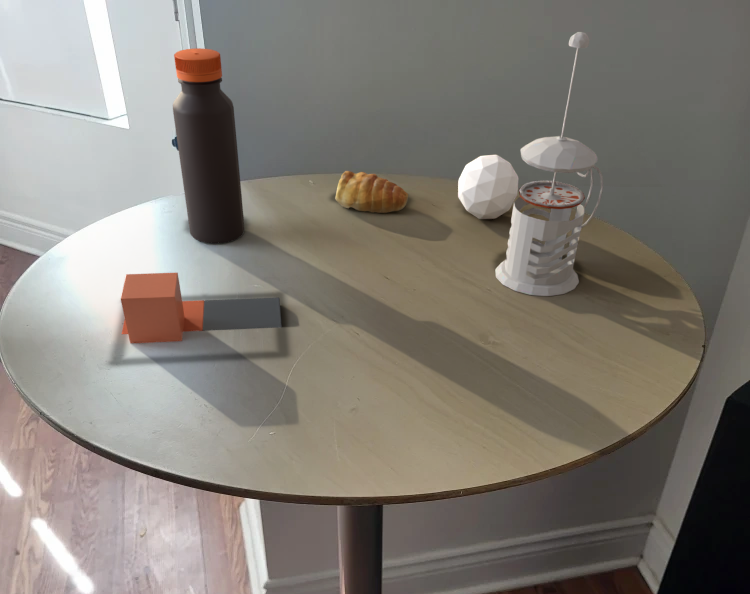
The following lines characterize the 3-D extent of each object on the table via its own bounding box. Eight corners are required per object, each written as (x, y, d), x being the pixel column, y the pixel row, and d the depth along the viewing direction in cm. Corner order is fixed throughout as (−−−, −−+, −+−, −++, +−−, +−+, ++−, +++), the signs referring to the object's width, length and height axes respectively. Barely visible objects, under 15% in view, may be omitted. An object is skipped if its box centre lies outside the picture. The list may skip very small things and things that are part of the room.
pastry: (412, 200, 106) (414, 172, 104) (399, 220, 102) (400, 191, 99) (347, 191, 108) (347, 162, 106) (331, 209, 103) (331, 180, 101)
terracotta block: (130, 345, 76) (120, 298, 73) (135, 319, 80) (125, 274, 76) (182, 342, 77) (174, 296, 73) (184, 317, 80) (177, 272, 77)
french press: (478, 267, 92) (508, 25, 75) (554, 248, 97) (599, 15, 80) (529, 303, 86) (574, 49, 69) (608, 281, 90) (669, 37, 73)
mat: (116, 372, 74) (114, 365, 74) (129, 309, 83) (127, 303, 82) (284, 364, 76) (284, 357, 75) (279, 303, 85) (279, 297, 84)
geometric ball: (468, 231, 106) (453, 171, 105) (526, 213, 104) (512, 152, 103) (462, 224, 99) (447, 160, 98) (525, 204, 97) (509, 138, 95)
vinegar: (178, 235, 96) (151, 54, 83) (215, 217, 101) (195, 42, 87) (219, 250, 94) (198, 65, 80) (256, 230, 98) (241, 52, 84)
